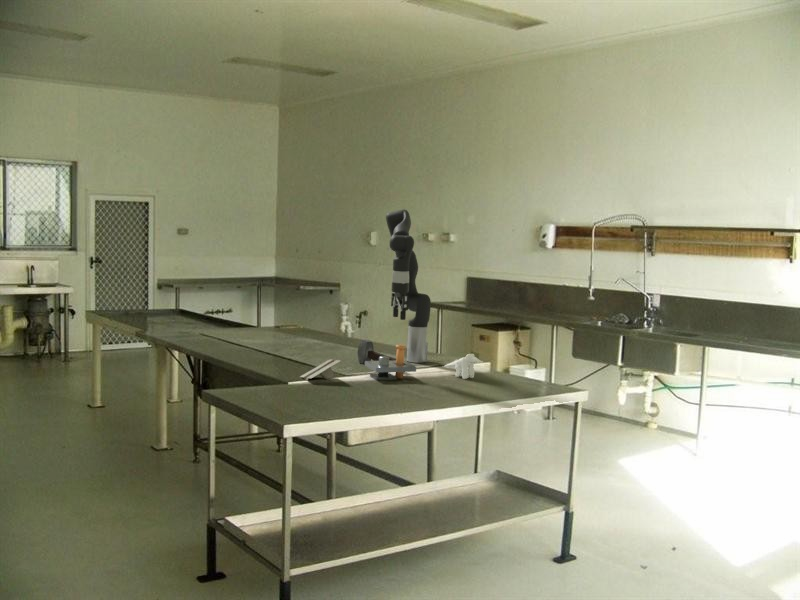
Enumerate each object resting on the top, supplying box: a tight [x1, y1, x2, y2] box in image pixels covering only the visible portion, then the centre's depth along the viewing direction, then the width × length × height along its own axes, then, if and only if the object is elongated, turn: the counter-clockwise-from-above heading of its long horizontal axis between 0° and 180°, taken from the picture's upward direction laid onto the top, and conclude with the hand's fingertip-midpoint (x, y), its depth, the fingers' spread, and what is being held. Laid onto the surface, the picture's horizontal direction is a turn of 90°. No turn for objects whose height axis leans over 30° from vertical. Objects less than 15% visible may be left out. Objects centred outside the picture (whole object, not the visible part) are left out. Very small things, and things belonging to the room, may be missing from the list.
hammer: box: [357, 339, 405, 374], centre depth 388 cm, size 5×11×30 cm
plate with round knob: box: [364, 355, 417, 381], centre depth 365 cm, size 18×16×9 cm
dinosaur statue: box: [442, 353, 484, 380], centre depth 374 cm, size 7×24×11 cm, turn 44°
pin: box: [394, 344, 407, 379], centre depth 366 cm, size 4×4×14 cm
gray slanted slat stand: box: [299, 358, 342, 381], centre depth 353 cm, size 16×9×15 cm
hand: (399, 318), depth 368 cm, fingers open, 8 cm apart
